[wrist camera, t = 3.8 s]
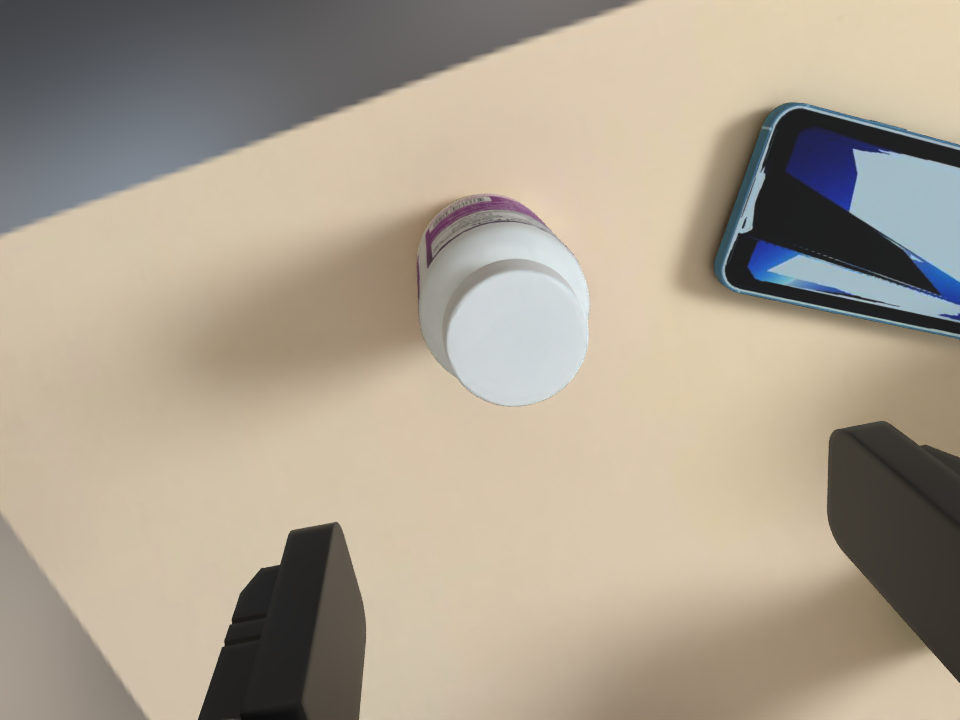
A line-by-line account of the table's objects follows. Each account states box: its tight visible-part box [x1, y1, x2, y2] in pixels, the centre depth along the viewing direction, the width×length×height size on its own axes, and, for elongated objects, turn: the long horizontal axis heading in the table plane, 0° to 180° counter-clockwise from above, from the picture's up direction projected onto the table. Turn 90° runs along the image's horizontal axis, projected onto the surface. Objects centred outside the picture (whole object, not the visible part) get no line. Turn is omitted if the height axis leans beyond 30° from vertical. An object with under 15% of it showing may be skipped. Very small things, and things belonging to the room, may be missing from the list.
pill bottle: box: [417, 194, 590, 407], centre depth 24 cm, size 5×5×10 cm
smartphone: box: [714, 102, 960, 339], centre depth 29 cm, size 7×1×15 cm
